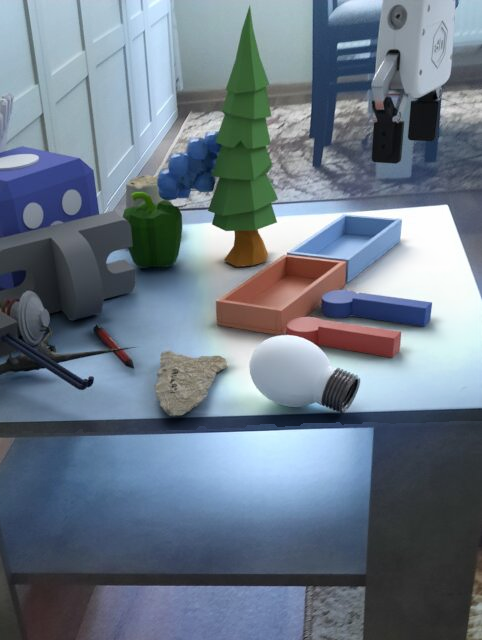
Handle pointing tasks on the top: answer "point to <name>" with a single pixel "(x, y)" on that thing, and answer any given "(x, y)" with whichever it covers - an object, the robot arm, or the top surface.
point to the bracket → (70, 264)
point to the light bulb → (300, 374)
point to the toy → (39, 189)
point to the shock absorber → (27, 316)
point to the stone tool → (185, 380)
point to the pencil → (113, 346)
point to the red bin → (280, 293)
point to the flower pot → (142, 190)
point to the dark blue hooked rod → (34, 353)
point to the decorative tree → (244, 156)
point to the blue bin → (352, 241)
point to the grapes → (190, 169)
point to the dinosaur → (28, 364)
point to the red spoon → (346, 336)
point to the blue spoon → (375, 307)
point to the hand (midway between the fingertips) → (404, 150)
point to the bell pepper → (154, 232)
